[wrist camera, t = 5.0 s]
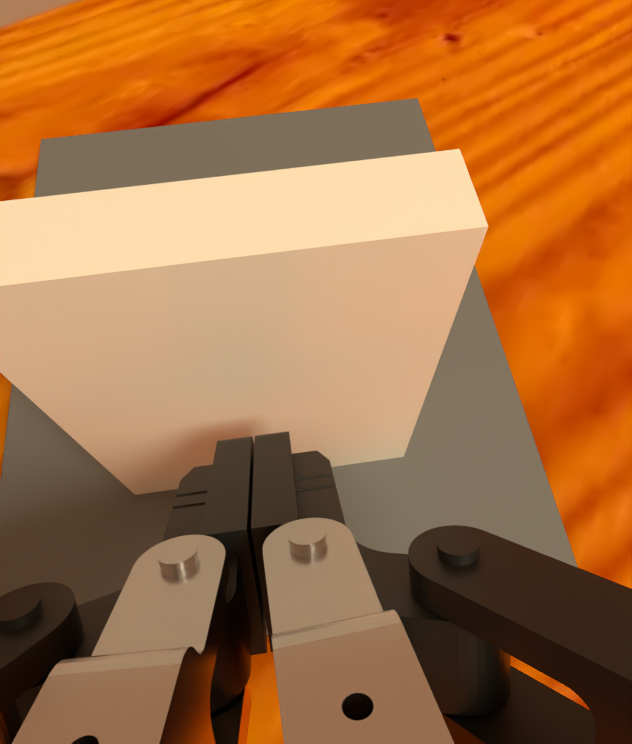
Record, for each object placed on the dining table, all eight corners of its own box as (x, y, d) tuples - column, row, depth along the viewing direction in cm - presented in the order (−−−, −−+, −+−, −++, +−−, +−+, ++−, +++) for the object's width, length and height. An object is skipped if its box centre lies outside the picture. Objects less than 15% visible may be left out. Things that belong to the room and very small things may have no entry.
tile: (135, 495, 17) (-85, 296, 8) (135, 436, 17) (-61, 196, 9) (403, 456, 17) (488, 226, 8) (391, 401, 18) (455, 138, 9)
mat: (574, 586, 16) (583, 584, 15) (-11, 679, 15) (-24, 679, 14) (415, 110, 25) (417, 98, 24) (47, 151, 24) (41, 139, 24)
